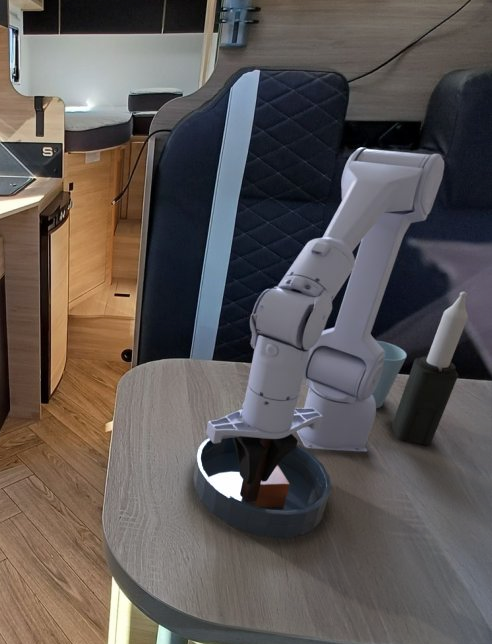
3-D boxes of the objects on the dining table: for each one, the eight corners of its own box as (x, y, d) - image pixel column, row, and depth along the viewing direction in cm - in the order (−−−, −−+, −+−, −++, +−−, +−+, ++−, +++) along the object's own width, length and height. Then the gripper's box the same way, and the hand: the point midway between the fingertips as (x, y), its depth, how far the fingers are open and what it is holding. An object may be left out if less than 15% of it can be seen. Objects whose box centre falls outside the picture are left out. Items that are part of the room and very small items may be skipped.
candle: (424, 429, 86) (478, 288, 75) (432, 447, 82) (491, 300, 71) (390, 422, 88) (438, 283, 77) (396, 440, 83) (449, 295, 72)
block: (271, 486, 72) (277, 463, 71) (283, 507, 69) (290, 484, 67) (243, 487, 72) (248, 464, 70) (254, 508, 69) (260, 484, 67)
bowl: (298, 456, 79) (304, 432, 77) (343, 545, 64) (353, 518, 62) (185, 449, 80) (188, 426, 78) (203, 536, 65) (208, 509, 63)
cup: (358, 385, 99) (373, 336, 94) (398, 405, 93) (416, 353, 88) (333, 395, 95) (347, 345, 91) (372, 416, 89) (390, 364, 85)
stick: (250, 492, 69) (263, 431, 65) (256, 501, 68) (271, 439, 64) (239, 494, 69) (252, 432, 65) (245, 502, 68) (259, 440, 63)
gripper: (305, 365, 66) (284, 450, 72) (201, 377, 63) (188, 465, 69) (344, 394, 60) (317, 485, 66) (230, 409, 57) (212, 502, 63)
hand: (253, 477), depth 67 cm, fingers closed on stick, 1 cm apart
